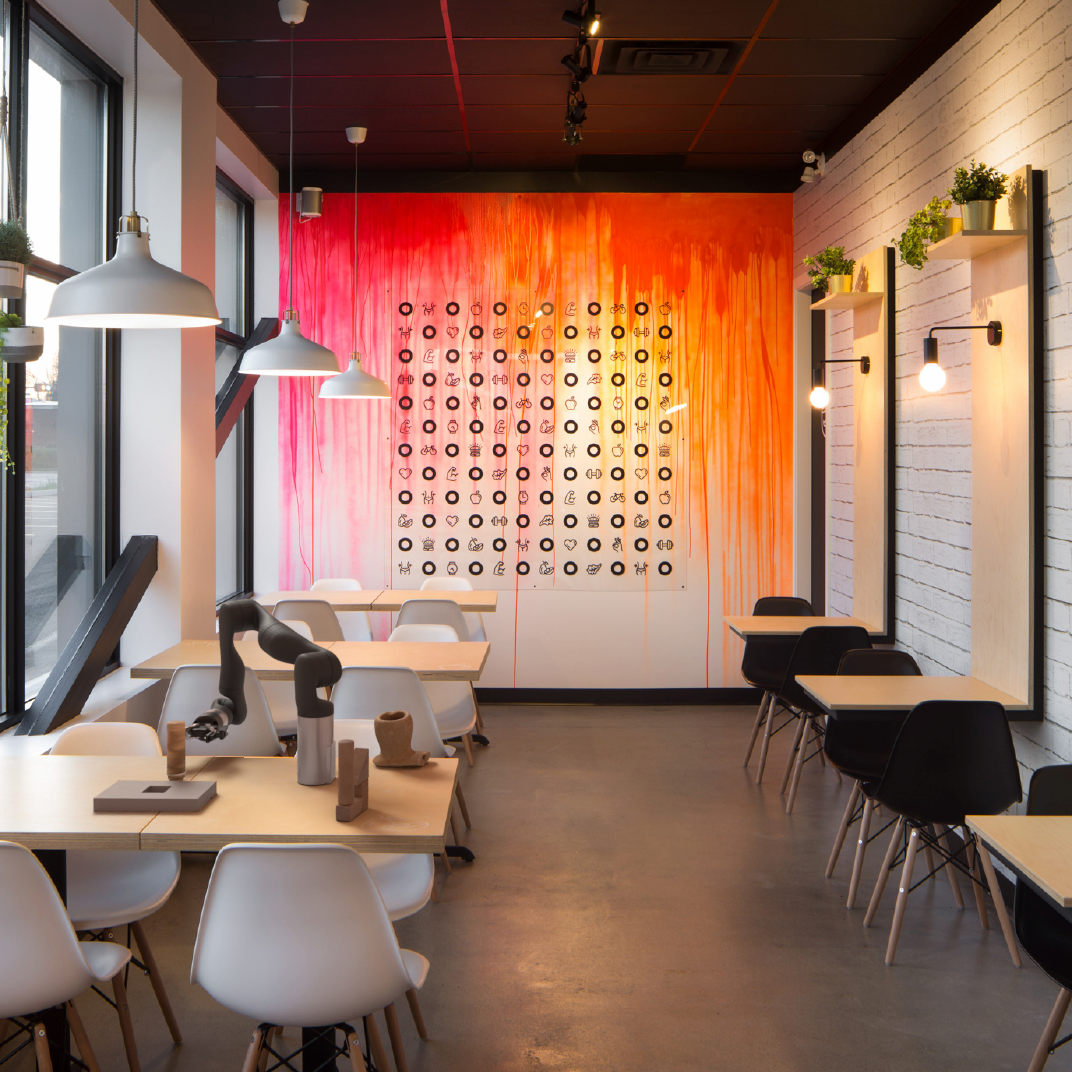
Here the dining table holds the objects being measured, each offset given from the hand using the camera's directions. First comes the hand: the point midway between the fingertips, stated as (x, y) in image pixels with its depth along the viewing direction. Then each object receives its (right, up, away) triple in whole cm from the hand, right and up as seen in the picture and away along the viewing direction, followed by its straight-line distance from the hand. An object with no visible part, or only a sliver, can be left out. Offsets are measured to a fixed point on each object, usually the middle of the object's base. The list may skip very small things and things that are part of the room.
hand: (190, 739), depth 254 cm
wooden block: (+48, -11, -31) cm, 58 cm away
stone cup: (+54, -10, +9) cm, 55 cm away
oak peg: (0, -10, -10) cm, 14 cm away
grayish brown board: (0, -10, -23) cm, 25 cm away
